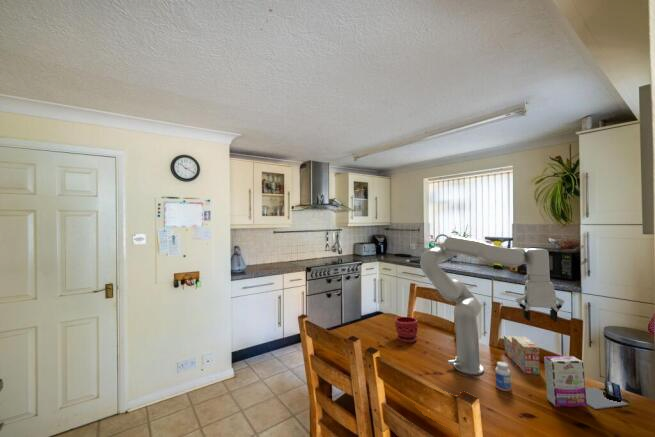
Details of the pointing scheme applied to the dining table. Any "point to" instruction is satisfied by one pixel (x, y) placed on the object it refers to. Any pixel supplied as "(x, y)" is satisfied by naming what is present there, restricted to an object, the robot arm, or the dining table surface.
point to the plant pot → (406, 329)
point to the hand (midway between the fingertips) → (540, 320)
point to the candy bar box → (565, 381)
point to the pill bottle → (503, 376)
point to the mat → (600, 399)
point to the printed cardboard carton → (523, 353)
